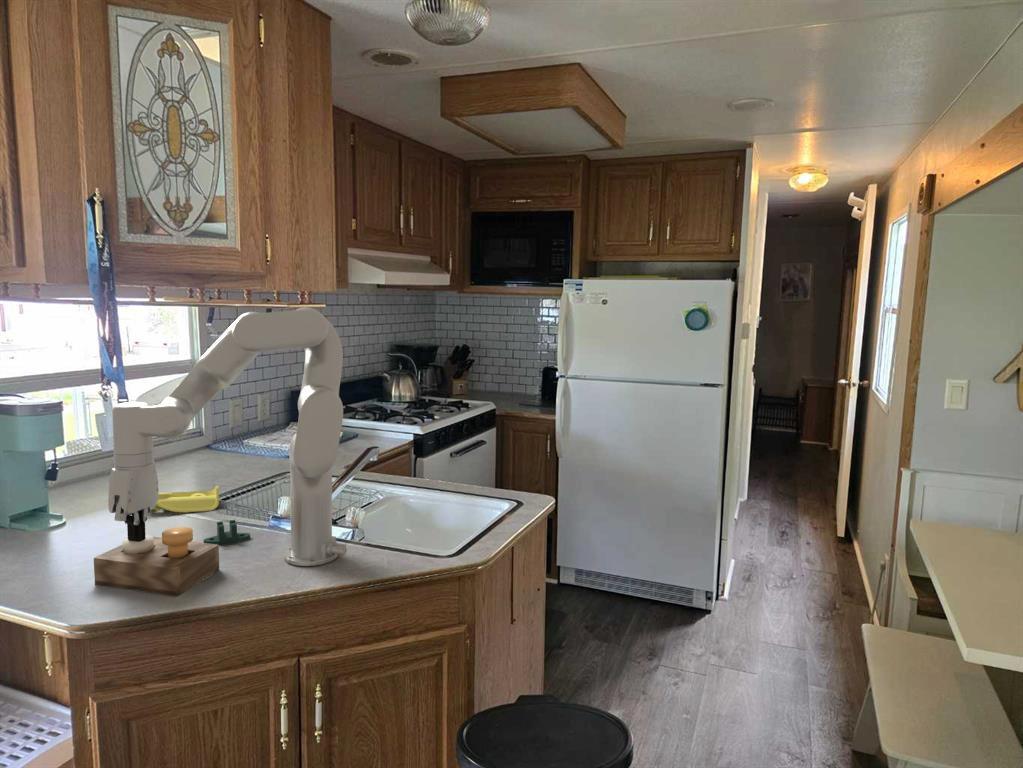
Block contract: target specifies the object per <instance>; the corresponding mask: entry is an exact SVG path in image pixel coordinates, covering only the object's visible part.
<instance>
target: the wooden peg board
mask: <svg viewBox="0 0 1023 768" xmlns="http://www.w3.org/2000/svg"><path fill="white" fill-rule="evenodd" d="M152 537H153V539H154V548H153V549H151V550H149V551H147V552H143V553H141V554H127V553H124V552H123V544H121V545H118V546H116V547H114V548H112V549H110V550H108V551H106V552H104V553H103V552H102V553H101V554H99V555H97V556H95V557H93V570H94V571H93V573H94V574H93V575H94V576H93V577H94V585H95V586H102V587H108V588H115V589H124V590H131V591H136V592H144V593H151V594H157V595H165V596H171V597H178V596H180V595H181V594H183V593H185V592H186V591H188V590H190V589H191V588H193V587H194V586H196V585H198V584H199V583H200V581H201V582H202V581H204V580H205V579H207V578H208V576H209V577H210V576H211V574H212V575H213V574H215V573H217V572H218V571H219V570H220V552H219V551H220V548H219V546H220V545H217V544H209V543H204V542H200V541H193V540H192V541H191V542H189V543H188V555H187V556H185V557H184V558H182V559H174V558H168V545H164V544H163V543H162V537H160V536H158V537H157V536H152ZM216 571H217V572H216ZM206 577H207V578H206ZM203 579H204V580H203ZM198 582H199V583H198ZM197 583H198V584H197ZM195 584H196V585H195ZM192 586H193V587H192ZM189 588H190V589H189Z"/></svg>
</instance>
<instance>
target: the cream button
mask: <svg viewBox="0 0 1023 768" xmlns="http://www.w3.org/2000/svg"><path fill="white" fill-rule="evenodd" d="M145 536H146V539H145V540H142V541H140V542H135V541H129V540H128V537H127V538H125V539H123V540H122V545H123V552H124V553H127V554H141V553H143V552H147V551H149V550H151V549H153V548H154V539H153V537H154V536H152V535H148V534H145Z"/></svg>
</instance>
